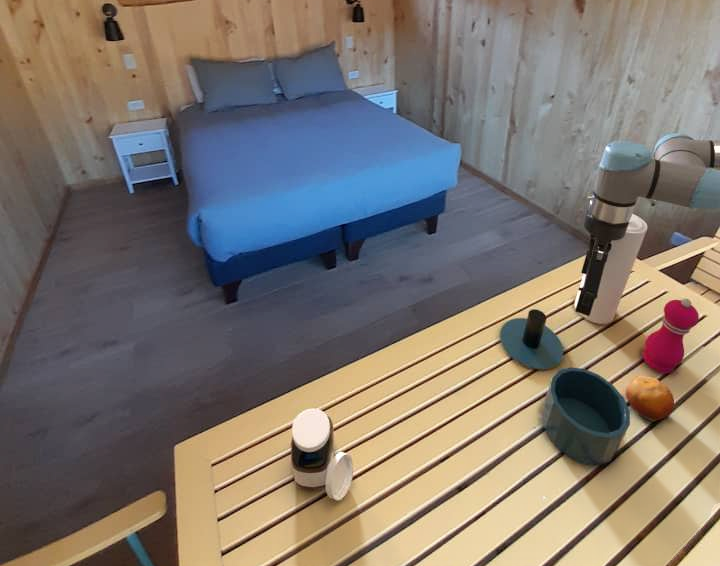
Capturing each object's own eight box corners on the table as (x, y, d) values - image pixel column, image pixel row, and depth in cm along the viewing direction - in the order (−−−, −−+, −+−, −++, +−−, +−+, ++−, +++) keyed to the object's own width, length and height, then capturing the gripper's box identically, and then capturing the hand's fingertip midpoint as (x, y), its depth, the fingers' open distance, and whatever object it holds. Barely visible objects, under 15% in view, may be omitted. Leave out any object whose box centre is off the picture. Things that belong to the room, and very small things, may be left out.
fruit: (663, 437, 79) (653, 397, 79) (624, 417, 86) (615, 380, 86) (688, 420, 81) (679, 381, 82) (649, 402, 89) (640, 366, 89)
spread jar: (300, 434, 82) (294, 399, 77) (355, 435, 81) (353, 400, 76) (288, 506, 71) (281, 470, 66) (352, 508, 71) (350, 472, 65)
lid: (565, 335, 102) (574, 306, 97) (558, 382, 91) (567, 352, 86) (506, 312, 109) (512, 285, 104) (493, 354, 97) (498, 325, 93)
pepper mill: (633, 354, 97) (659, 293, 88) (652, 344, 99) (680, 283, 90) (663, 380, 91) (695, 317, 82) (683, 368, 93) (716, 306, 84)
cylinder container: (605, 330, 103) (640, 236, 89) (568, 308, 109) (595, 218, 96) (619, 310, 108) (653, 219, 95) (583, 291, 115) (610, 203, 101)
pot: (616, 415, 84) (629, 387, 80) (615, 481, 74) (630, 452, 69) (547, 385, 90) (555, 357, 86) (536, 441, 80) (546, 412, 76)
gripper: (592, 183, 93) (573, 255, 102) (581, 243, 74) (559, 324, 84) (629, 191, 89) (606, 265, 99) (629, 256, 70) (600, 339, 80)
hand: (585, 292), depth 91 cm, fingers open, 13 cm apart
